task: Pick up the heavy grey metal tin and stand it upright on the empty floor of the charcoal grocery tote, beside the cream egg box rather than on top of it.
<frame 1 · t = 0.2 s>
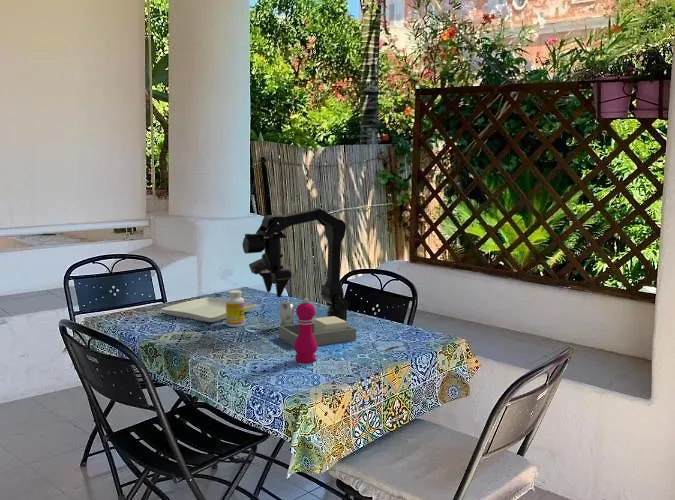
hand: (273, 294, 255), 14 cm above the table, tool pointing down, fingers open, 9 cm apart
pepper mill: (305, 361, 223), on the table
tote: (317, 341, 244), on the table
tin: (286, 330, 259), on the table
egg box: (330, 337, 247), point 1 cm above the table, touching tote
butter knife: (381, 354, 232), on the table
square plate: (209, 315, 282), on the table
supplement bottle: (235, 325, 265), on the table
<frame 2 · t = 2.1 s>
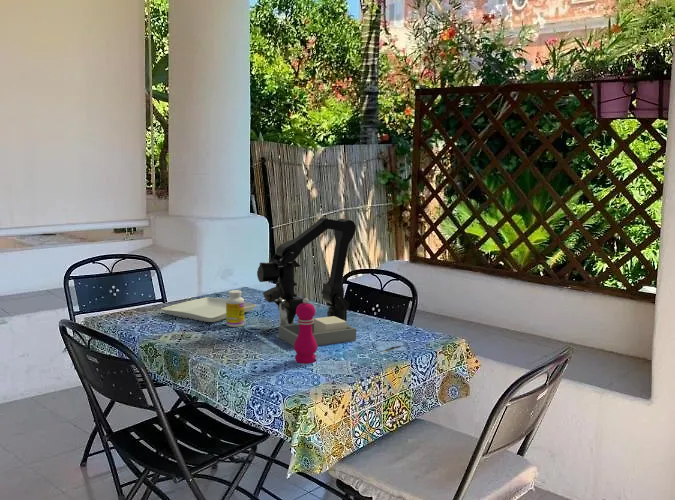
hand: (286, 322, 259), 3 cm above the table, tool pointing down, fingers closed on tin, 5 cm apart
tin: (286, 330, 259), on the table, touching gripper
everything else where it was.
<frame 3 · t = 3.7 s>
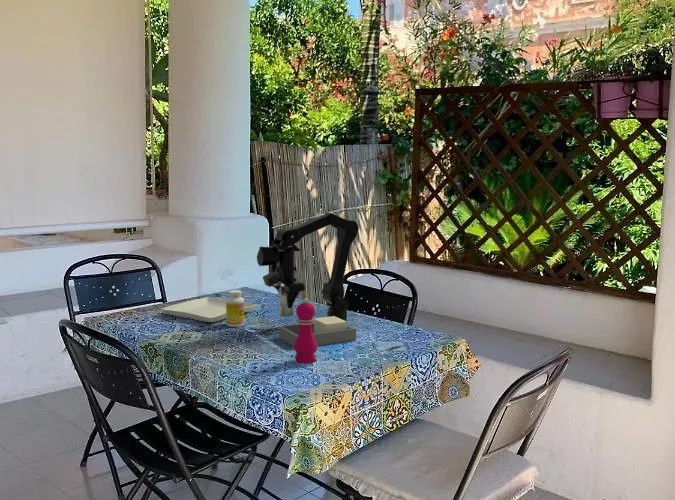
hand: (286, 306, 258), 9 cm above the table, tool pointing down, fingers closed on tin, 5 cm apart
tin: (286, 314, 258), point 6 cm above the table, touching gripper
everything else where it was.
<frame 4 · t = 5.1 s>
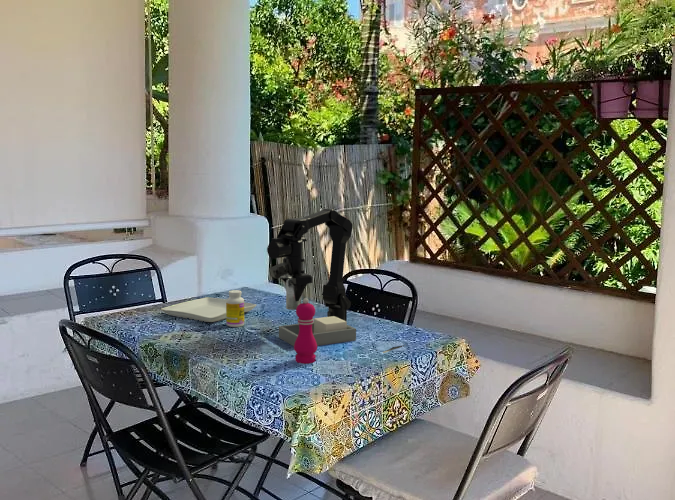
hand: (293, 299, 249), 13 cm above the table, tool pointing down, fingers closed on tin, 5 cm apart
tin: (293, 308, 249), point 10 cm above the table, touching gripper
everything else where it was.
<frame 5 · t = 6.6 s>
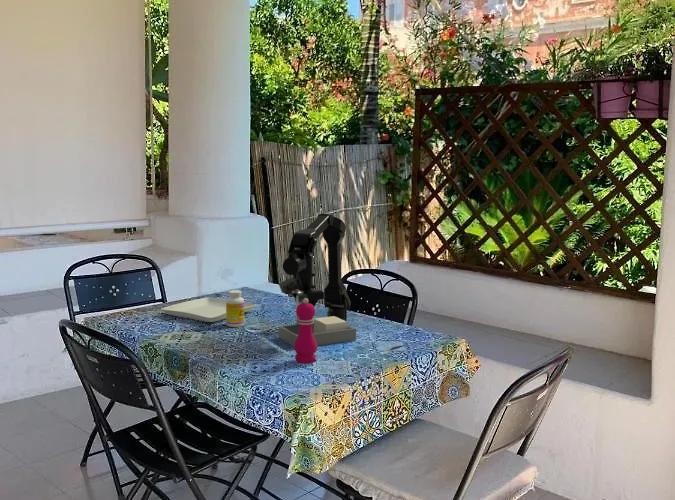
hand: (304, 315, 241), 10 cm above the table, tool pointing down, fingers closed on tin, 5 cm apart
tin: (304, 324, 241), point 7 cm above the table, touching gripper
everything else where it was.
when the fingers open (5 cm above the table, at t = 7.9 s): tin drops 1 cm, resting on tote.
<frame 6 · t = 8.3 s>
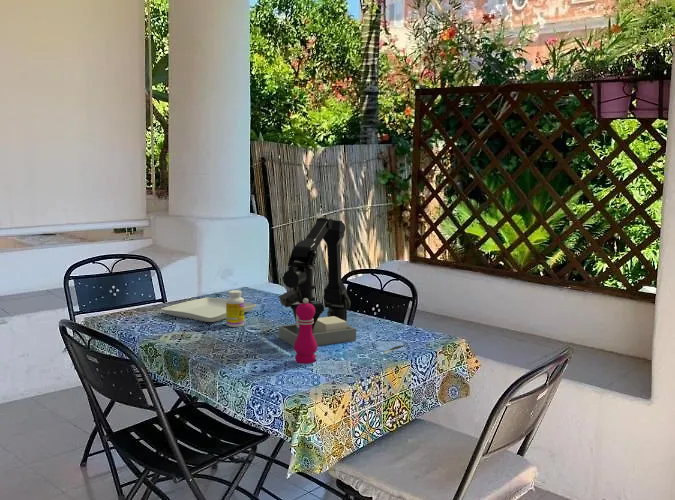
hand: (304, 327, 241), 5 cm above the table, tool pointing down, fingers open, 9 cm apart
tin: (303, 340, 242), point 1 cm above the table, touching tote
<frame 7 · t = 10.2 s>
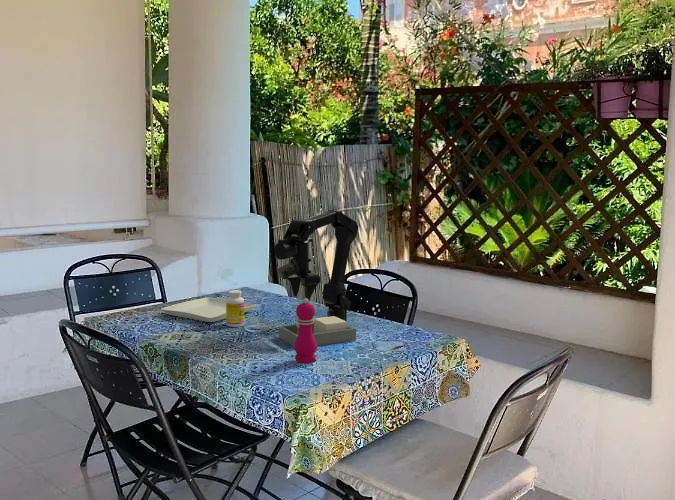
hand: (301, 299, 252), 13 cm above the table, tool pointing down, fingers open, 9 cm apart
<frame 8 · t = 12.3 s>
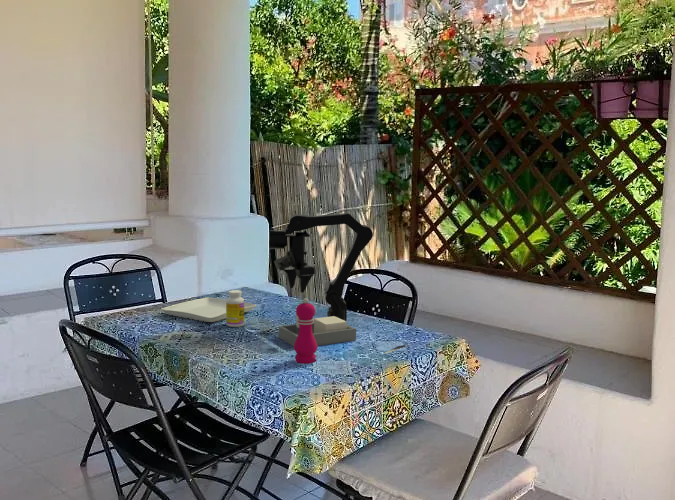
hand: (296, 290, 266), 13 cm above the table, tool pointing down, fingers open, 9 cm apart
at the end: tin 0.3 cm from the target spot on the tote, point 1.0 cm above the tote's base; tin tilted 1°; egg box moved 0.1 cm from its start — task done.
